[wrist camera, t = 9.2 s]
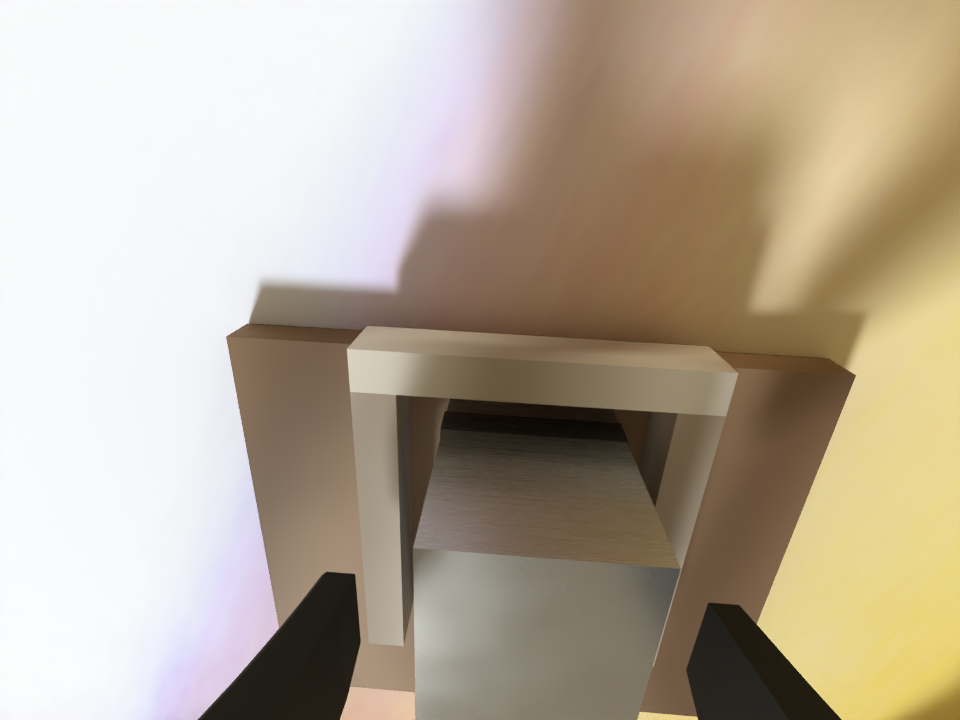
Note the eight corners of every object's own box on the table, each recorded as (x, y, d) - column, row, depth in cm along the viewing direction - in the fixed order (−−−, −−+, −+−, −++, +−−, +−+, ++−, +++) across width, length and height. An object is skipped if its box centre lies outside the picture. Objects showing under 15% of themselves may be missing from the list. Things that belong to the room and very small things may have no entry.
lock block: (613, 406, 11) (684, 569, 7) (577, 607, 14) (610, 819, 10) (448, 395, 12) (409, 547, 7) (444, 596, 14) (414, 800, 10)
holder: (835, 340, 12) (917, 384, 9) (707, 688, 17) (739, 771, 14) (244, 305, 12) (182, 338, 10) (300, 653, 17) (268, 728, 15)
